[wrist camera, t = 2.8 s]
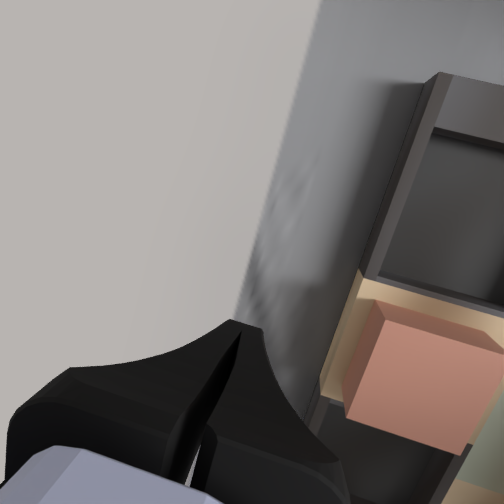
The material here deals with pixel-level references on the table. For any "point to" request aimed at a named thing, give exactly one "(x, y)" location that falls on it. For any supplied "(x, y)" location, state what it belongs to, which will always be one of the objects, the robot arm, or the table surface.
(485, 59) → the table surface
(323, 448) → the robot arm
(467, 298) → the trap board
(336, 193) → the table surface
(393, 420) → the tile block
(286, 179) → the table surface
